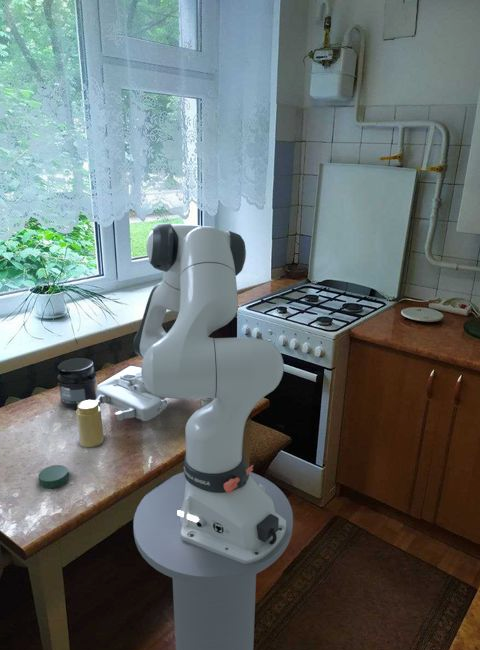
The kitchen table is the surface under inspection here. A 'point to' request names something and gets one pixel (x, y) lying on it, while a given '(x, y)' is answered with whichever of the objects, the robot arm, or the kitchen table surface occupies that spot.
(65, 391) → the supplement container
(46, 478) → the jar lid
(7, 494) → the kitchen table surface
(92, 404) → the jam jar
